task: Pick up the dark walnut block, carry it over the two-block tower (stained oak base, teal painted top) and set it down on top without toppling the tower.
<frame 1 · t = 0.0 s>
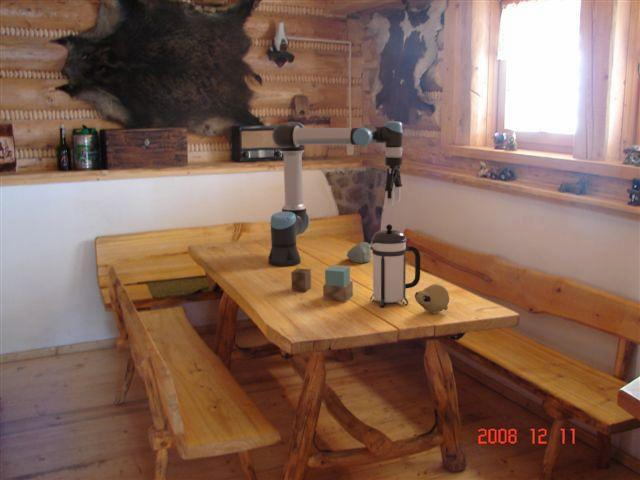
hand: (393, 203, 314), 28 cm above the table, tool pointing down, fingers open, 13 cm apart
coffee press: (391, 302, 261), on the table
tower base: (338, 298, 267), on the table, touching tower top
decorative stone: (359, 261, 325), on the table
walnut block: (301, 289, 279), on the table
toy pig: (432, 313, 247), on the table
tower top: (337, 283, 266), point 6 cm above the table, touching tower base
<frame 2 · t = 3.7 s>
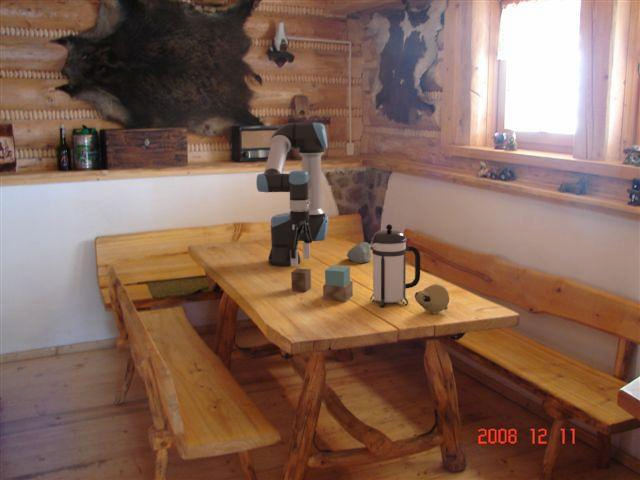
hand: (300, 262, 277), 11 cm above the table, tool pointing down, fingers open, 13 cm apart
nothing on the table moved.
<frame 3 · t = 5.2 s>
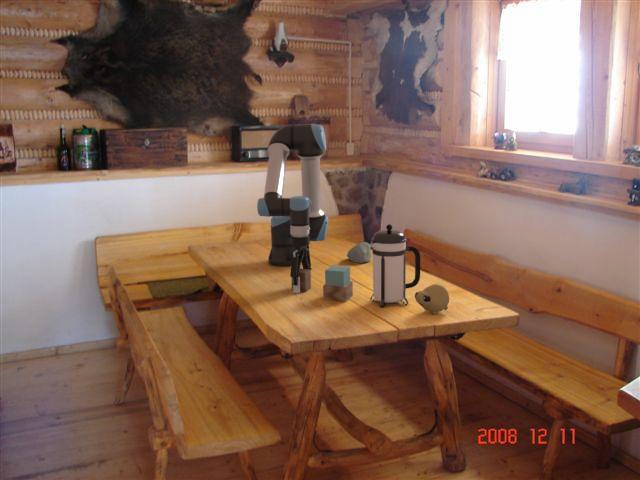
hand: (301, 289, 279), 0 cm above the table, tool pointing down, fingers open, 10 cm apart
nothing on the table moved.
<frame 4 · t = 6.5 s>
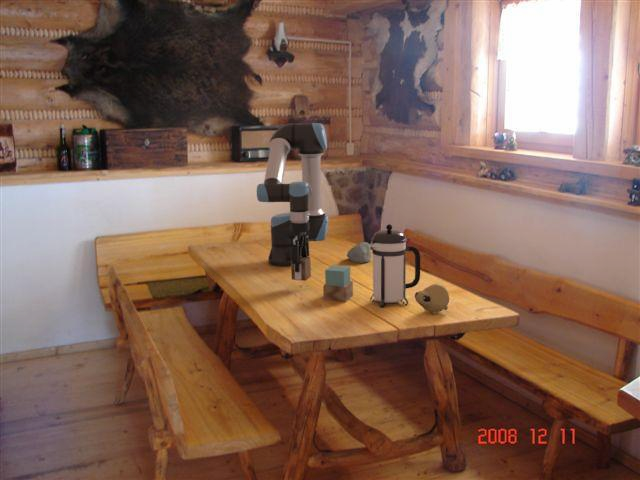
hand: (301, 276, 279), 5 cm above the table, tool pointing down, fingers closed on walnut block, 6 cm apart
walnut block: (301, 278, 279), point 5 cm above the table, touching gripper
everything else where it was.
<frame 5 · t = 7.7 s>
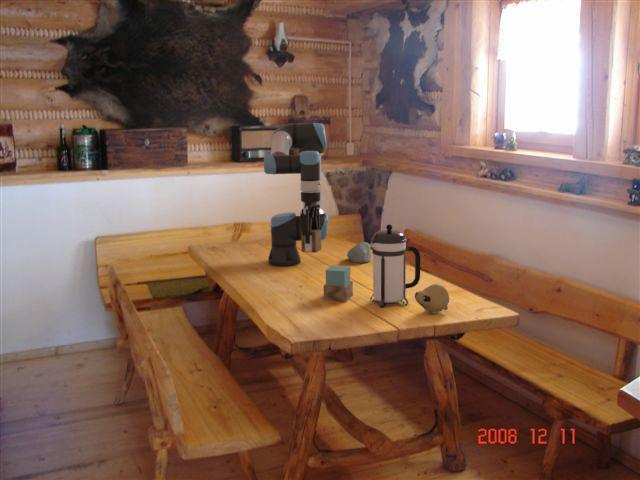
hand: (311, 249, 271), 18 cm above the table, tool pointing down, fingers closed on walnut block, 6 cm apart
walnut block: (311, 250, 271), point 17 cm above the table, touching gripper
everything else where it was.
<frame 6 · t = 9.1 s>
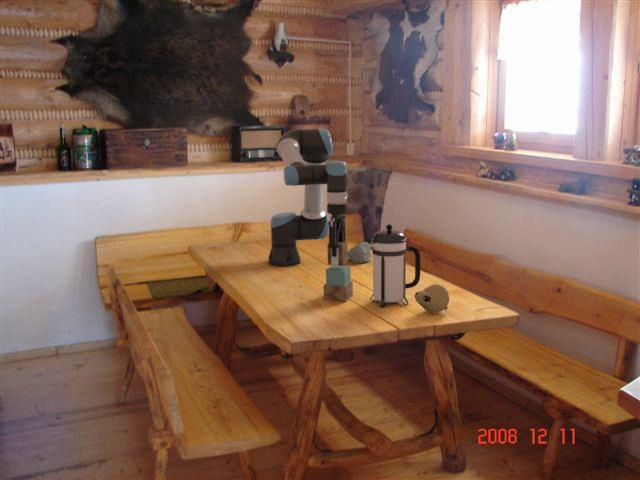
hand: (337, 262, 264), 14 cm above the table, tool pointing down, fingers closed on walnut block, 6 cm apart
walnut block: (337, 263, 264), point 14 cm above the table, touching gripper
everything else where it was.
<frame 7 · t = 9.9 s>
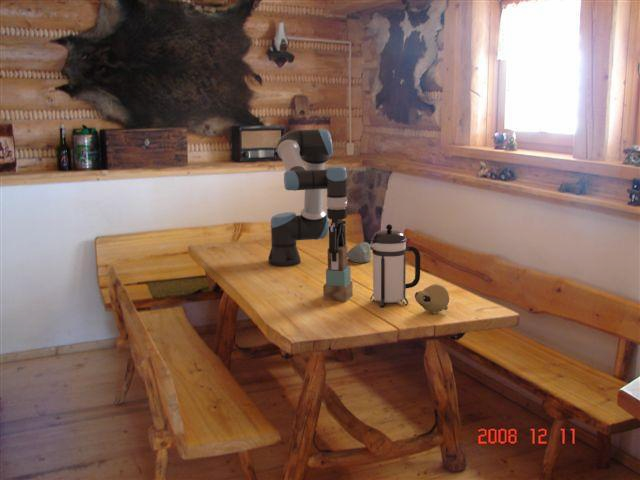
hand: (337, 267, 265), 12 cm above the table, tool pointing down, fingers closed on walnut block, 6 cm apart
walnut block: (337, 268, 265), point 12 cm above the table, touching gripper
everything else where it was.
when the fingers open (12 cm above the table, at t = 10.2 s): walnut block stays where it is, resting on tower top.
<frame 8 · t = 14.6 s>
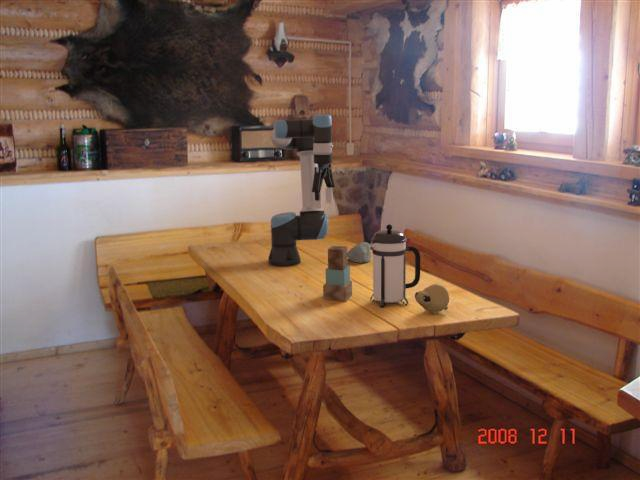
hand: (323, 205, 282), 33 cm above the table, tool pointing down, fingers open, 13 cm apart
walnut block: (337, 268, 265), point 12 cm above the table, touching tower top
tower top: (338, 282, 267), point 6 cm above the table, touching tower base, walnut block
everything else where it was.
at the end: walnut block 0.7 cm off-centre on the tower top, point 6.0 cm above the tower top's base; tower top moved 1.4 cm from its start; walnut block tilted 0° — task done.
